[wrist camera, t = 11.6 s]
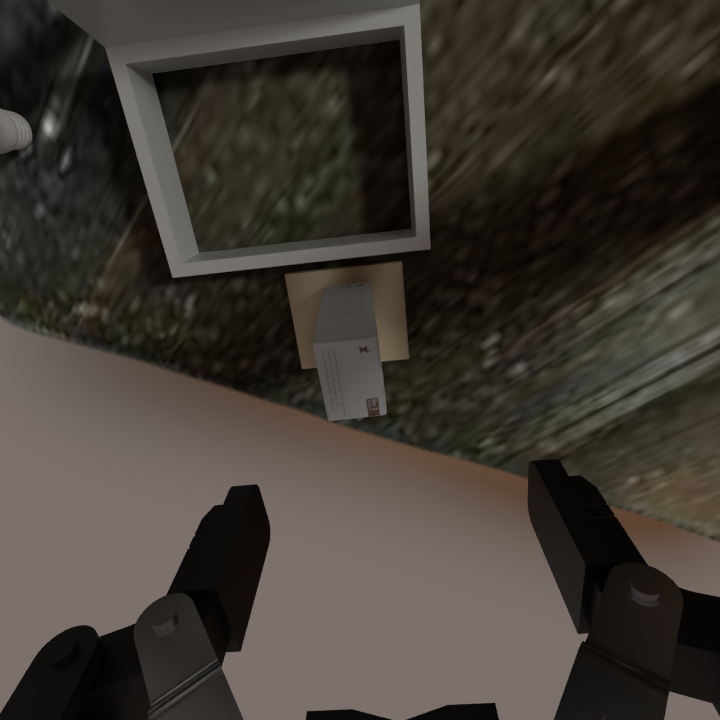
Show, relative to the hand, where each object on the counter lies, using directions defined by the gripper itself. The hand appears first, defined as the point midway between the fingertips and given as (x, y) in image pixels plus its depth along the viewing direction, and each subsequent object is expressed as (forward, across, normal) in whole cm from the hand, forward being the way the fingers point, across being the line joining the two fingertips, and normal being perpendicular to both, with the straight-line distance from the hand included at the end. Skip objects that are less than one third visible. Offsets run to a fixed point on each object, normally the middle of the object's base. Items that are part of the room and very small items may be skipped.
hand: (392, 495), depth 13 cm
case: (+28, +6, -10) cm, 30 cm away
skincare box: (+27, +3, +4) cm, 28 cm away
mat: (+28, +3, +4) cm, 28 cm away
